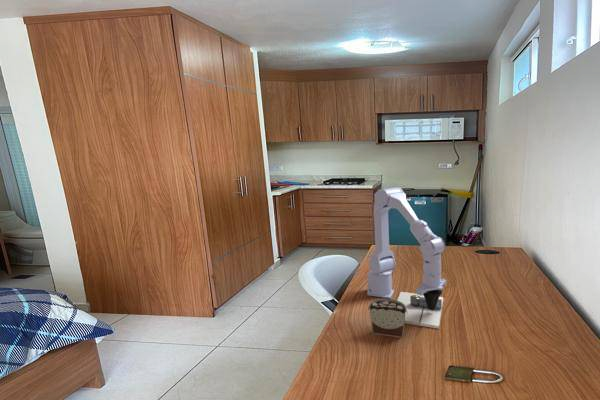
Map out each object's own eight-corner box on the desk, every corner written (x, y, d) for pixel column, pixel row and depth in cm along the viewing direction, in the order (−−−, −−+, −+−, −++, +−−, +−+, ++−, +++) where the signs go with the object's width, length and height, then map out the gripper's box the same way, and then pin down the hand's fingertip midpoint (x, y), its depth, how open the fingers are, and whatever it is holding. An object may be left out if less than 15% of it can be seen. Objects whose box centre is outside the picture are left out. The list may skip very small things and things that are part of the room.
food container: (408, 328, 119) (408, 300, 117) (407, 338, 113) (407, 308, 112) (370, 324, 123) (370, 296, 122) (368, 333, 117) (367, 304, 116)
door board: (389, 320, 125) (389, 311, 124) (400, 294, 146) (400, 286, 146) (438, 328, 118) (439, 319, 118) (443, 299, 140) (443, 291, 139)
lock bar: (409, 305, 132) (410, 297, 132) (410, 301, 136) (410, 293, 135) (441, 309, 128) (441, 300, 128) (441, 305, 132) (441, 296, 131)
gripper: (429, 280, 118) (428, 319, 120) (454, 270, 126) (453, 307, 128) (411, 274, 123) (411, 312, 126) (436, 265, 132) (435, 300, 134)
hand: (431, 309), depth 127 cm, fingers closed
